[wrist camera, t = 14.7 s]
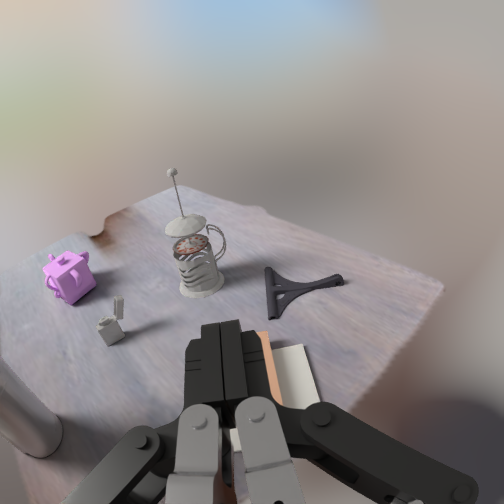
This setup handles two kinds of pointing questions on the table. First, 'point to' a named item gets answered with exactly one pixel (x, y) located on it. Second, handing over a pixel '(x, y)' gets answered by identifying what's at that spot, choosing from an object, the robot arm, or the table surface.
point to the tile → (270, 367)
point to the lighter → (112, 323)
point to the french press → (194, 254)
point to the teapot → (69, 276)
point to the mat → (290, 382)
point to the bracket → (291, 290)
